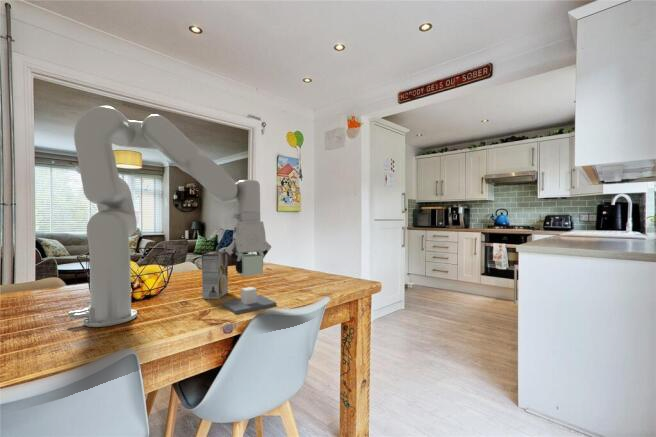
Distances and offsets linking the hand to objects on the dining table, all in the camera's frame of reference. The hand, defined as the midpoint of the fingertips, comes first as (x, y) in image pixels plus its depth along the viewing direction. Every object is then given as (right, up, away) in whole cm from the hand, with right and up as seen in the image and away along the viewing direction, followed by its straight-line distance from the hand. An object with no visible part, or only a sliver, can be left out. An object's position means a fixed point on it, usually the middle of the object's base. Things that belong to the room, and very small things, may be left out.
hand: (249, 270), depth 101 cm
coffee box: (-16, -12, +12) cm, 23 cm away
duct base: (0, -11, 0) cm, 11 cm away
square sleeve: (0, -1, 0) cm, 1 cm away
